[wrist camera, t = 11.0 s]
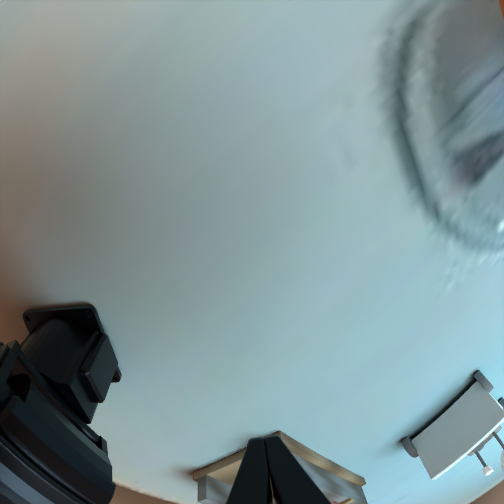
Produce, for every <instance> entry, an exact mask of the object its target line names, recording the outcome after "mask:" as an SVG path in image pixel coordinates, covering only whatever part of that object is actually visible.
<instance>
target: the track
mask: <svg viewBox="0 0 504 504" xmlns="http://www.w3.org/2000/svg"><path fill="white" fill-rule="evenodd" d="M273 435H278V436H280V438H281V439H282V440H283V442H284V443H285V444H286V446H287V447H288V448H289V450H290V451H291V452H292V454H293V455H294V456H295V458H296V459H297V460H298V462H299V463H300V464H301V466H302V467H303V468H304V469H305V471H306V472H307V473H308V475H309V476H310V477H311V478H312V480H313V481H314V482H315V483H316V485H317V486H318V487H319V488H320V490H321V491H322V492H323V493H324V495H325V496H326V497H327V498H328V499H330V500H333V501H336V502H339V503H338V504H368V503H367V501H366V498H365V495H364V492H363V490H362V487H361V486H363V485H365V484H366V482H365V480H364V478H363V477H361V476H359V475H357V474H355V473H353V472H351V471H349V470H347V469H345V468H343V467H341V466H339V465H338V464H336V463H334V462H332V461H330V460H328V459H327V458H325V457H323V456H321V455H319V454H318V453H316V452H314V451H312V450H311V449H309V448H307V447H306V446H304V445H302V444H301V443H299V442H297V441H296V440H294V439H292V438H291V437H289V436H287V435H286V434H284V433H283V432H281V431H279V432H277V433H275V434H273ZM264 441H265V440H264ZM265 448H266V447H265ZM245 450H246V449H244V450H242V451H240V452H238V453H236V454H234V455H232V456H229V457H227V458H225V459H223V460H221V461H219V462H216V463H214V464H212V465H209V466H207V467H205V468H202V469H200V470H198V471H195V472H194V473H193V480H195V481H197V482H198V502H199V503H202V504H226V501H227V499H228V496H229V494H230V491H231V488H232V486H233V483H234V480H235V478H236V475H237V472H238V469H239V467H240V464H241V461H242V458H243V455H244V453H245ZM270 481H271V480H270ZM271 488H272V487H271ZM272 495H273V493H272ZM273 504H275V502H274V498H273Z"/></svg>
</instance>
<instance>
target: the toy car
mask: <svg viewBox="0 0 504 504" xmlns="http://www.w3.org/2000/svg"><path fill="white" fill-rule="evenodd" d="M474 377H475V378H476V380H477V381H476V382H475V383H474V384H473V385H472V386H471V387H470V388H469V389H468V390H467V391H466V392H465V393H464V394H463V395H462V396H461V397H460V398H459V399H458V400H457V401H456V402H455V403H454V404H453V405H452V406H451V407H450V408H449V409H448V410H447V411H445V412H444V413H443V414H442V415H441V416H440V417H439V418H438V419H437V420H435V421H434V422H433V423H432V424H431V425H430V426H428V427H427V428H426V429H425V430H424V431H422V432H421V433H420V434H419V435H418V436H416V437H415V438H414V439H413V438H410V437H406V438H404V439H403V440H402V444H403V447H404V449H405V450H406V451H407V453H408V454H409V455H410V456H412V457H414V458H416V457H417V456H419V457H420V459H421V461H422V463H423V464H424V466H425V468H426V470H427V472H428V474H429V476H430V478H431V479H433V480H435V479H436V478H438V477H439V476H441V475H442V474H443V473H445V472H446V471H447V470H449V469H450V468H451V467H452V466H454V465H455V464H456V463H457V462H459V461H460V460H461V459H462V458H464V457H465V456H466V455H469V456H472V455H473V454H474V453H475V454H476V455H477V457H478V458H479V460H480V461H481V463H482V465H483V466H484V469H482V471H483V473H484V474H485V475H489V474H490V473H492V472H493V471H494V470H493V469H492V467H491V466H489V465H486V464H485V462H484V461H483V459H482V458H481V456H480V454H479V453H478V451H480V450H481V449H482V448H483V447H484V444H486V443H487V442H488V441H489V440H490V439H491V438H492V437H493V436H495V438H496V439H497V441H498V442H499V443H500V445H501V446H502V448H503V451H502V455H501V465H502V469H503V470H504V444H503V443H502V441H501V440H500V438H499V437H498V436H497V434H496V433H497V432H498V431H499V430H500V429H501V426H500V424H501V423H502V422H503V421H504V399H503V398H501V399H500V400H499V401H497V400H496V399H495V398H494V397H493V396H492V395H491V394H490V393H489V392H490V391H491V390H492V389H493V388H494V387H493V386H492V384H491V383H490V382H489V381H488V380H487V379H486V378H485V376H484V375H483V374H482V373H481V372H480V371H479V370H478V371H477V372H476V373H475V374H474Z"/></svg>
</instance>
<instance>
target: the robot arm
mask: <svg viewBox="0 0 504 504" xmlns="http://www.w3.org/2000/svg"><path fill="white" fill-rule="evenodd" d="M87 311H89V312H90V313H91V314H92V315H90V314H88V313H87ZM28 316H29V317H30V318H29V317H28ZM23 319H24V322H25V324H26V326H27V329H28V331H29V335H28V336H27V337H26V338H25V340H24V341H23V342H22V344H21V345H19V343H18V342H17V341H16V340H14V341H12V342H10V343H8V344H6V345H4V344H3V342H2V343H1V342H0V504H109V503H110V501H111V500H112V498H113V495H114V491H115V487H116V485H115V483H114V482H113V481H112V465H111V463H110V460H109V458H108V451H107V442H106V440H105V439H103V438H102V437H101V436H98V435H97V434H96V433H95V432H94V431H93V430H92V429H91V428H90V427H89V426H88V425H87V424H90V423H91V421H92V419H93V416H94V413H95V410H96V407H97V405H98V403H103V401H104V400H105V397H106V395H107V392H108V389H109V386H110V384H111V383H113V382H119V381H120V379H121V376H122V375H121V372H120V370H119V368H118V361H117V359H116V356H115V354H114V351H113V349H112V346H111V344H110V341H109V339H108V336H107V335H106V334H105V333H104V330H103V328H102V325H101V322H100V319H99V316H98V314H97V311H96V309H95V308H94V307H93V306H91V305H82V306H70V307H58V308H45V309H31V310H26V311H25V312H24V313H23ZM113 375H115V376H116V377H115V376H113ZM264 440H265V441H264ZM265 447H266V448H265ZM270 480H271V481H270ZM271 487H272V488H271ZM272 493H273V495H272ZM273 498H274V502H275V504H332V503H331V502H330V501H329V500H328V498H327V497H326V496H325V495H324V493H323V492H322V491H321V490H320V488H319V487H318V486H317V485H316V483H315V482H314V481H313V480H312V478H311V477H310V476H309V475H308V473H307V472H306V471H305V469H304V468H303V467H302V466H301V464H300V463H299V462H298V460H297V459H296V458H295V456H294V455H293V454H292V452H291V451H290V450H289V448H288V447H287V446H286V444H285V443H284V442H283V440H282V439H281V438H280V436H278V435H271V436H266V437H265V438H263V437H257V438H251V439H250V440H249V441H248V444H247V447H246V450H245V453H244V455H243V458H242V461H241V464H240V467H239V469H238V472H237V475H236V478H235V480H234V483H233V486H232V488H231V491H230V494H229V496H228V499H227V501H226V504H273Z"/></svg>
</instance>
